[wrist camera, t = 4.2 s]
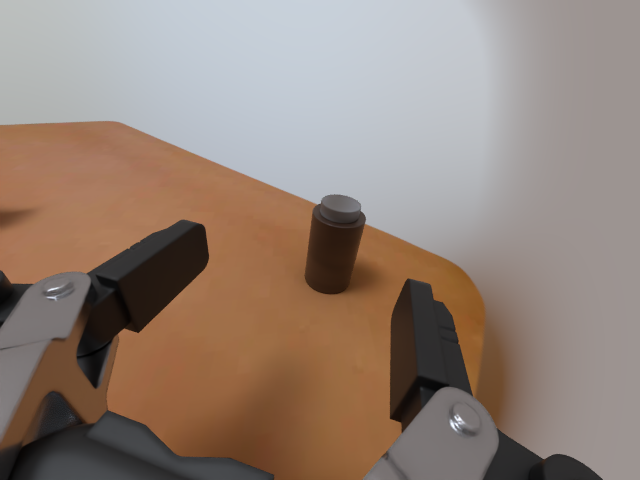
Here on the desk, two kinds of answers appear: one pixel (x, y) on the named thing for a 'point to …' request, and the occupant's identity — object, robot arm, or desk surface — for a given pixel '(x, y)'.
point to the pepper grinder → (333, 243)
